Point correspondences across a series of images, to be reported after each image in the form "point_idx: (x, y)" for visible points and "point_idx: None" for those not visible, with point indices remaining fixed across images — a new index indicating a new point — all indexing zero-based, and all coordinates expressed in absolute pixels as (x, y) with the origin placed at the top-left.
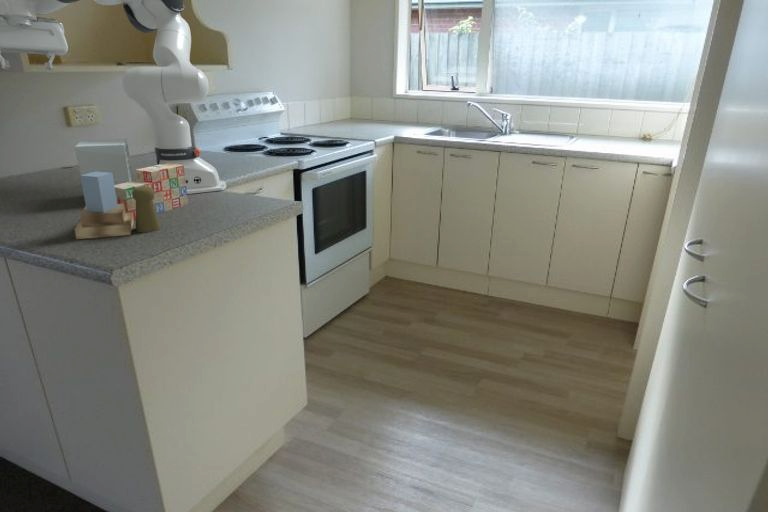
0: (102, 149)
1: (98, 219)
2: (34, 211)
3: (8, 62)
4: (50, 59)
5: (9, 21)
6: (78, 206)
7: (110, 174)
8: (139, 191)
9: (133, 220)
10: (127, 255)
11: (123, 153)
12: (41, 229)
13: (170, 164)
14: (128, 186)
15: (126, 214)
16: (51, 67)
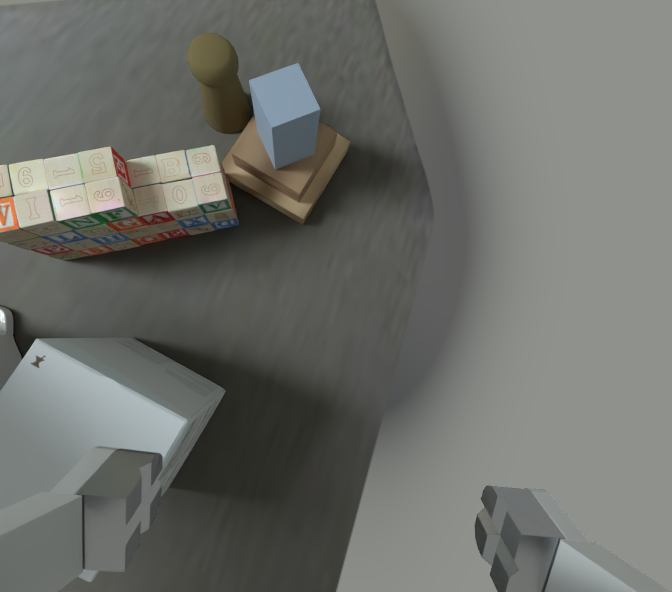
0: (113, 375)
1: None
2: (330, 412)
3: (514, 516)
4: (24, 518)
5: None
6: (244, 386)
7: (256, 80)
8: (227, 40)
9: None
10: (325, 15)
11: (62, 340)
12: (367, 259)
13: None
14: (193, 163)
15: (234, 163)
16: (103, 448)
